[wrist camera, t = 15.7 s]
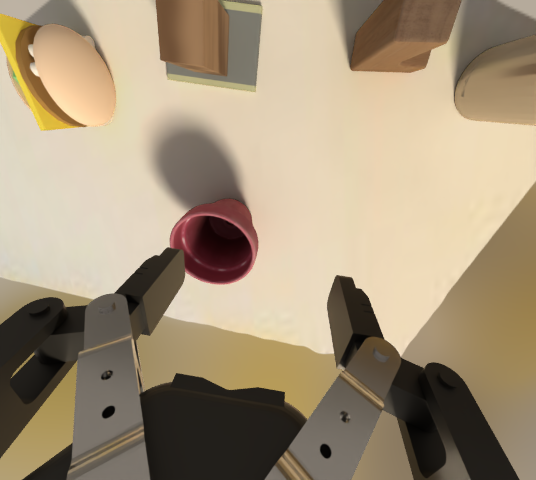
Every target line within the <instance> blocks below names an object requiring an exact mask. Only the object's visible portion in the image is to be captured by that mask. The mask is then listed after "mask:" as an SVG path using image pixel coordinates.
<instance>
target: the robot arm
mask: <svg viewBox="0 0 536 480" xmlns="http://www.w3.org/2000/svg"><path fill="white" fill-rule="evenodd" d="M455 104H456V108H457V110H458V111H459V113H460V114H461V115H462V116H463V117H464V118H467V119H469V120H475V121H486V122H497V123H509V124H521V125H534V126H536V35H532V36H529V37H526V38H522V39H518V40H515V41H512V42H509V43H505V44H502V45H499V46H496V47H493V48H490V49H488V50H487V51H485V52H483V53H482V54H480V55H479V56H478V57H476V58H475V59H474V60H473V61H472V62H471V63H470V64H469V65H468V66H467V68H466V69H465V71H464V72H463V73H462V75H461V77H460V79H459V81H458V84H457V87H456V91H455ZM184 279H185V263H184V252H183V250H181V249H175V248H169V247H168V248H166V249H165V250H164V251H163V252H162V254H161V255H160V256H158V255H155V256H153V257H151V258H149V259H147V260H146V261H145V262H144V263H143V264H142V265H141V266H140V268H138V269H137V270H136V271H135V273H134V274H132V275H131V276H130V277H129V278H128V279H127V281H126V282H125V283H124V284H123V285H122V286H121V287H120V288H119V289H118V290H117V291H116V292H115V293H114V294H106V295H103V296H100V297H98V298H96V299H94V300H93V301H92V302H90V303H89V305H86V306H75V307H65V306H64V303H63V301H62V300H61V299H58V298H53V297H49V298H43V299H39V300H36V301H33V302H31V303H29V304H27V305H25V306H24V307H22V308H21V309H19V310H18V311H17V312H16V313H14V314H13V315H12V316H11V317H9V318H8V319H7V320H6V321H4V322H3V323H2V324H1V325H0V458H1V456H2V455H3V454H4V453H5V451H6V450H7V449H8V448H9V447H10V445H11V444H12V443H13V441H14V440H15V439H16V438H17V436H18V435H19V434H20V433H21V431H22V430H23V428H24V427H25V426H26V425H27V424H28V422H29V421H30V420H31V419H32V417H33V416H34V415H35V413H36V412H37V411H38V410H39V408H40V407H41V406H42V404H43V403H44V402H45V401H46V399H47V398H48V397H49V396H50V394H51V393H52V392H53V390H54V389H55V388H56V387H57V385H58V384H59V383H60V381H61V380H62V379H63V378H64V377H65V375H66V374H67V373H68V371H69V370H70V369H71V368H72V366H73V365H74V364H75V363H76V361H77V360H78V362H77V380H76V381H77V382H76V396H75V414H74V431H73V432H74V433H73V443H72V444H71V445H69V446H68V447H66V448H65V449H64V450H62V451H61V452H59V453H58V454H57V455H55V456H54V457H53V458H51V459H50V460H49V461H47V462H46V463H44V464H43V465H42V466H40V467H39V468H37V469H36V470H35V471H33V472H32V473H31V474H29V475H28V476H26V477H25V478H24V479H22V480H351V479H352V477H353V475H354V472H355V470H356V468H357V466H358V463H359V461H360V459H361V456H362V454H363V452H364V450H365V447H366V445H367V443H368V441H369V439H370V437H371V434H372V432H373V430H374V428H375V425H376V423H377V421H378V418H379V416H380V414H381V412H382V410H384V411H386V412H388V413H390V414H392V415H393V416H395V417H397V420H398V423H399V427H400V431H401V434H402V438H403V442H404V445H405V449H406V452H407V456H408V460H409V464H410V467H411V471H412V475H413V478H414V480H519V478H518V476H517V474H516V472H515V471H514V469H513V467H512V466H511V464H510V462H509V460H508V458H507V456H506V455H505V453H504V451H503V449H502V447H501V446H500V444H499V442H498V440H497V439H496V437H495V435H494V433H493V431H492V430H491V428H490V426H489V425H488V422H487V421H486V419H485V417H484V415H483V414H482V412H481V410H480V408H479V406H478V405H477V403H476V401H475V399H474V397H473V396H472V394H471V392H470V390H469V389H468V387H467V385H466V384H465V382H464V381H463V379H462V378H461V377H460V376H459V375H458V374H457V373H456V372H454V371H453V370H451V369H450V368H448V367H446V366H445V365H442V364H439V363H429V364H427V365H426V366H425V368H422V367H420V366H418V365H415V364H413V363H411V362H409V361H406V360H404V359H402V358H401V357H400V355H399V353H398V351H397V350H396V348H395V347H394V346H393V345H391V344H390V343H389V342H388V341H386V340H384V337H383V334H382V332H381V329H380V327H379V324H378V321H377V319H376V316H375V314H374V311H373V308H372V307H371V303H370V301H369V298H368V296H367V295H366V294H365V293H364V292H363V291H362V289H358V288H356V287H355V284H354V281H353V279H352V277H345V276H339V275H337V276H336V277H335V279H334V282H333V285H332V288H331V291H330V294H329V297H328V302H327V310H328V317H329V323H330V329H331V335H332V342H333V348H334V354H335V360H336V367H337V368H338V369H343V370H344V371H342V372H341V373H340V374H339V376H338V377H337V379H336V380H335V381H334V383H333V385H332V386H331V387H330V389H329V390H328V391H327V393H326V394H325V396H324V397H323V399H322V400H321V402H320V403H319V404H318V406H317V407H316V409H315V410H314V412H313V413H312V415H311V416H310V417H309V419H308V420H307V418H306V417H305V416H304V415H303V414H302V413H301V412H300V411H299V410H297V409H296V408H295V407H293V406H292V405H290V404H289V403H287V402H285V401H284V399H285V392H281V391H276V390H269V389H264V388H258V387H257V388H248V389H237V390H227V389H224V388H222V387H220V386H218V385H216V384H214V383H212V382H210V381H208V380H206V379H204V378H201V377H195V376H189V375H184V374H178V373H176V375H175V377H174V379H173V382H169V383H164V384H160V385H158V386H155V387H152V388H150V389H148V390H146V391H145V387H144V382H143V377H142V371H141V364H140V359H139V352H138V346H137V341H136V340H137V339H138V337H139V336H140V334H144V335H149V336H150V335H151V333H152V332H153V330H154V329H155V327H156V325H157V324H158V322H159V321H160V319H161V318H162V316H163V314H164V313H165V311H166V310H167V308H168V306H169V305H170V303H171V302H172V300H173V299H174V297H175V295H176V294H177V292H178V291H179V289H180V287H181V286H182V284H183V282H184ZM33 352H34V353H35V355H34V356H33V357H32V358H31V359H30V360H29V361H28V362H27V363H26V364H25V365H24V366H23V367H22V368H21V369H20V370H19V371H18V372H17V373H16V374H15V375H14V376H13V377H12V375H13V373H14V372H15V371H16V370H17V368H18V367H19V366H20V365H21V364H22V363H23V362H24V361H25V360H26V359H27V358H28V357H29V356H30V355H31V354H32V353H33ZM11 377H12V378H11Z"/></svg>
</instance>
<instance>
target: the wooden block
mask: <svg viewBox="0 0 536 480" xmlns="http://www.w3.org/2000/svg"><path fill="white" fill-rule="evenodd" d="M460 3H461V0H383V2H382V3H381V4H380V5H379V6H378V8H377V9H376V10H375V11H374V12H373V14H372V15H371V16H370V17H369V18H368V20H367V21H366V22H365V23H364V24H363V26H362V27H361V28H360V29H359V30H358V32H357V33H356V37H355V43H354V49H353V55H352V60H351V66H350V68H351V70H352V71H376V72H406V73H411V72H414V71H418V70H421V69H424V68H425V67H426V65H427V62H428V59H429V56H430V52H431V49H434V48H436V47H439V46H441V45H443V44H446V43H447V41H448V39H449V37H450V34H451V31H452V28H453V25H454V22H455V19H456V16H457V12H458V9H459V6H460Z"/></svg>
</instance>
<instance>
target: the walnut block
mask: <svg viewBox="0 0 536 480" xmlns="http://www.w3.org/2000/svg"><path fill="white" fill-rule="evenodd" d="M156 9H157V22H158V34H159V46H160V59H161V60H162V61H165V62H168V63H171V64H174V65H177V66H180V67H182V68H185V69H188V70H191V71H194V72H199V73H206V74H212V75H219V76H226V77H227V74H228V44H229V15H228V14H227V12H226V11H225V10H224V8H223V7H222V5H221V4H220V3H219V1H218V0H156Z"/></svg>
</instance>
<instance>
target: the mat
mask: <svg viewBox="0 0 536 480" xmlns="http://www.w3.org/2000/svg"><path fill="white" fill-rule="evenodd" d="M218 1H219V3H220V4H221V5H222V7H223V8H224V10H225V11H226V12H227V14H228V15H229V44H228V74H227V77H226V76H219V75H212V74H206V73H199V72H194V71H191V70H188V69H185V68H182V67H180V66H177V65H174V64H171V63H168V62H166V63H167V76H168V80H174V81H181V82H188V83H195V84H202V85H209V86H215V87H222V88H229V89H236V90H243V91H250V92H255V91H256V79H257V67H258V55H259V43H260V31H261V19H262V6H259V5H252V4H244V3H237V2H229V1H222V0H218Z"/></svg>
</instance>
